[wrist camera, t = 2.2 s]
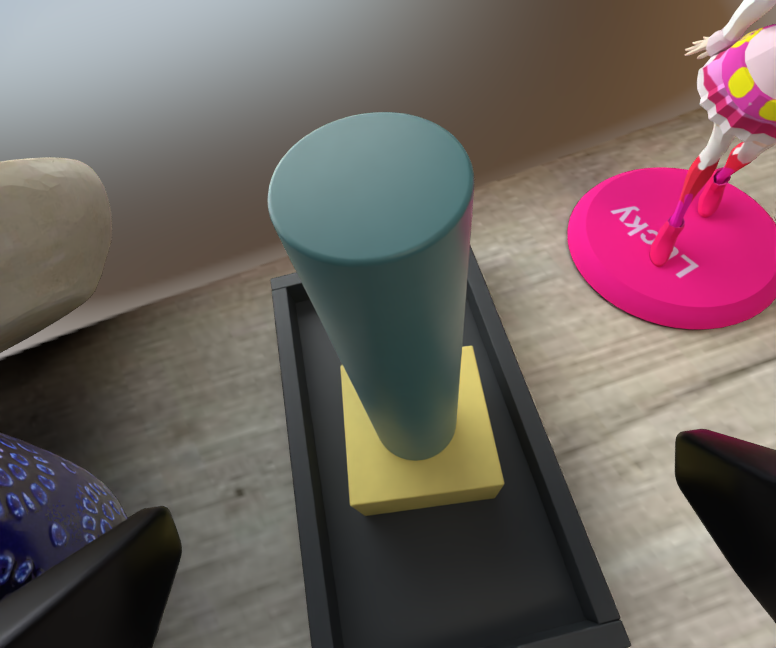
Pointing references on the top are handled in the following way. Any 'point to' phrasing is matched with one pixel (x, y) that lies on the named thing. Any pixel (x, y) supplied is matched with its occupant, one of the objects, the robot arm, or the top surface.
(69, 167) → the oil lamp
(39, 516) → the planter
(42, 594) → the robot arm
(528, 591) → the tray
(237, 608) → the top surface
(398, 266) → the sponge wand
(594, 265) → the figurine
